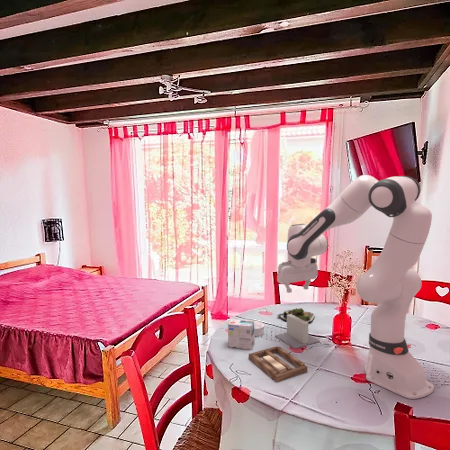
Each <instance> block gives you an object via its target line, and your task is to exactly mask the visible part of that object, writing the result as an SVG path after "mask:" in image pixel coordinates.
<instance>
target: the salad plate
mask: <svg viewBox="0 0 450 450" xmlns="http://www.w3.org/2000/svg"><path fill="white" fill-rule="evenodd" d="M289 314H292V315H294V316H296V317H298V318H300V319H302V320H304V321H306V322H308V325H309V324H311V323H312V322H313V320H314V319H315V313H313V312H311V311H305V309H304V308H303V307H298V308H297V307H296V308H293V309H285V310H284V311H283V313H279V314H277V315H276V316H277V317H279V318H280V319H281V320H282V321H283V322H286V323H287V315H289Z"/></svg>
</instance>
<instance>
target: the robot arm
mask: <svg viewBox="0 0 450 450" xmlns="http://www.w3.org/2000/svg"><path fill="white" fill-rule="evenodd" d="M420 194H421V185H420V183H419V182H418V180H416V179H415V178H413V177H411V176H408V175H398V176H397V175H396V176H390V177H387V178H383V179H380V180H378V179H377V178H375V177H374V176H372V175H369V174H362V175H359V176H358V177H356V178H355V179H354V180H353V181H351V182H350V183H349V184H348V185H347V186H346V187H345V188H344V189H343V190H342V191H341V192H340V194H339V195H338V196H336V198H335V199H334V200H333V201H332V202H331V203H330V204H328V206H327V207H325V208H324V209H323V210H322V211H321V212H319V214H317V215H316V216H315V217H314V218H313V219H312V220H311V221H310V222H309V223H308V224H306V223H298V224H297V223H296V224H292V225H290V226H289V228H288V232H287V242H286V243H287V244H286V250H287V261H282V262H280V263H279V264H278V265H277V266H278V267H277V269H278V270H277V276H276V280H277V281H276V282H278V283H279V284H281V285H284V287H285V288H286V293H292V288H291V287H290V285H291V283H298V282H303V281H305V283H304V284H303V285H302V286H303V290H309V286H310V284H311V280H314V279H315V280H316V279H317V277H318V275H319V274H318V273H319V271H318V264H317V263H318V259H317V258H316V257H317V256H321V255H323V254H325V253H326V251H327V250H328V246H329V245H328V239H327V237H326V236H325V235H324V233H326V232H327V231H329V230H331V229H333V228H337V227H340V226H344V225H348V224H351V223H354V222H355V221H357V220H358V219H359V218H360V217H362V216H363V215H364V214H365V213H366V212H367V211H369V209H370V208H371V207H373V208H374V209H375V210H377V211H378V212H380V213H382V214H384V215H385V216H387V217H388V218H393V220H392V224H391V227H390V230H389V233H388V236H387V238H386V241H385V243H384V245H383V248H382V250H381V252H380V254H379V255H378V257H377V258H376V259H375V260H374V262H373V263H372V264H371V265H370V267H369V268H368V269H367V270H366V271H365V272H364V273H363V274H361V275H359V277H358V278H357V280H356V281H355V282H356V285H355V288H356V292H357V294H358V296H359V297H360V298H361V299H362V300H363V301H365V302H367V303H375V304H377V306H375V308H374V309H373V310H372V312H371V314H370V332H369V333H368V345H369V349H368V355H367V360H366V363H365V365H364V372H365V374H366V375H365V379H366V381H368V382H371V383H372V384H375V385H378V386H380V387H382V388H384V389H386V390H389V392H392V393H395V394H397V395H399V396H401V397H404V398H406V399H410V400H411V399H412V400H415V399H416V400H417V399H421V398H424V397H427V396H429V395H431V394H432V393H434V390H435V387H434V384H433V383H432V382H430V381H429V380H427V373H426V370H425V368H424V367H423V366H422V364H420V362H419V361H418V360H417V359H416V358H415V357H414V356H413V355H412V353H411V352H410V351H409V349H410V348H412V343H411V344H407V340H406V338H405V330H406V329H405V328H406V320H407V319H406V318H407V315H408V312H409V308H410V306H411V304H412V302H413V299H414V297H415V296H416V295H417V293H419V291H420V290H421V288H422V283H423V281H422V278H421V276H420V275H419V273H418V272H417V271H416V270H415V269H413V267H414V266H415V265H416V264H417V263H418V261H419V259H420V256H421V254H422V251H423V249H424V247H425V245H426V242H427V239H428V236H429V234H430V228H431V225H432V220H433V214H432V211H431V209H429V208H428V207H426V206H425V205H422V204H419V203H418V202H417V200H418V199H419V197H420ZM315 256H316V257H315Z"/></svg>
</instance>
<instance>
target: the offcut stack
mask: <svg viewBox="0 0 450 450" xmlns="http://www.w3.org/2000/svg"><path fill="white" fill-rule="evenodd" d="M262 360H263V361H264V362H265V363H266V364H268V365H269V366H270V367H271V368H273V369H274V370H275V371H276V372H278V373H281V372H284V371H286V367H284V366H283V365H282V364H280V363H279V362H278V361H276V360H275V359H274V358H272V357H271V356H270V355H268V356H264V357H262Z"/></svg>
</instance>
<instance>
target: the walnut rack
mask: <svg viewBox="0 0 450 450" xmlns="http://www.w3.org/2000/svg"><path fill="white" fill-rule="evenodd" d="M275 354H277V355H278V356H280V357H281V358H283V359H284V360H285V361H287V362H289V363H290V364H291V365H293V366H294V367H295V368H293V367H291V366H290V365H289V364H288V363H286V362H285V361H283V360H282V359H280V357H278V356H277V355H275ZM268 355H270V356H271V357H272V358H274V359H275V360H276V361H278V362H279V363H280V364H282V365H283V366H284V367H286V371H284V372H281V373H278V372H276V371H275V370H274V369H273V368H271V367H270V366H269V365H268V364H266V363H265V362H264V361H263V359H262V358H263V357H264V356H268ZM248 360H249V361H251V362H254V365H255V366H257V367H258V368H260V370H261V371H262V372H264V373H265V374H266V375H267V374H268V376H269V378H271V379H272V380H273V381H275V382H276V383H278V382H281V381H284V380H287V379H290V378H294V377H296V376H299V375H302V374H303V375H304V374H305V373H308V366H307V365H305V364H306V363H305V362H303V361H302V360H300V359H299V358H297V357H296V356H294V355H293V354H291V353H290V352H288V351H287V350H286V349H285V348H283V347H281V346H277V345H276V346H272V347H270V348H269V347H268V348H265V349H262V350H258V351H254V352H251V353H248Z"/></svg>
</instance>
